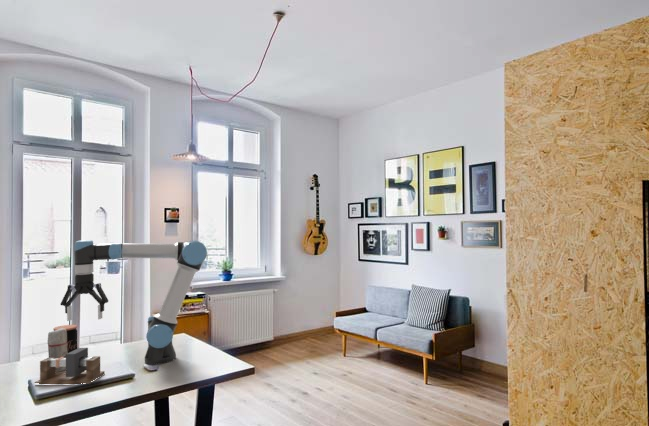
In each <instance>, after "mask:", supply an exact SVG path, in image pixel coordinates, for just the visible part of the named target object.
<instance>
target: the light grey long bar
mask: <svg viewBox="0 0 649 426" xmlns="http://www.w3.org/2000/svg"><path fill="white" fill-rule="evenodd" d="M90 358H91V359H93V358H94V356H90V357H89V356H88V357H84V358H79V366H86V360H88V359H90ZM49 367H56V368H59V367H66V358H64V357H60V358H51V359H50V360H49Z"/></svg>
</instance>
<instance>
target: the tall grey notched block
mask: <svg viewBox="0 0 649 426" xmlns="http://www.w3.org/2000/svg"><path fill="white" fill-rule="evenodd" d="M84 357H89V347H77V349H76V350H74V351H72V352H69V353H67V354H66V370H65V372H66V377H75V376H77V375H79V374H81V373H82V372H86V366H79V358H84Z"/></svg>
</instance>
